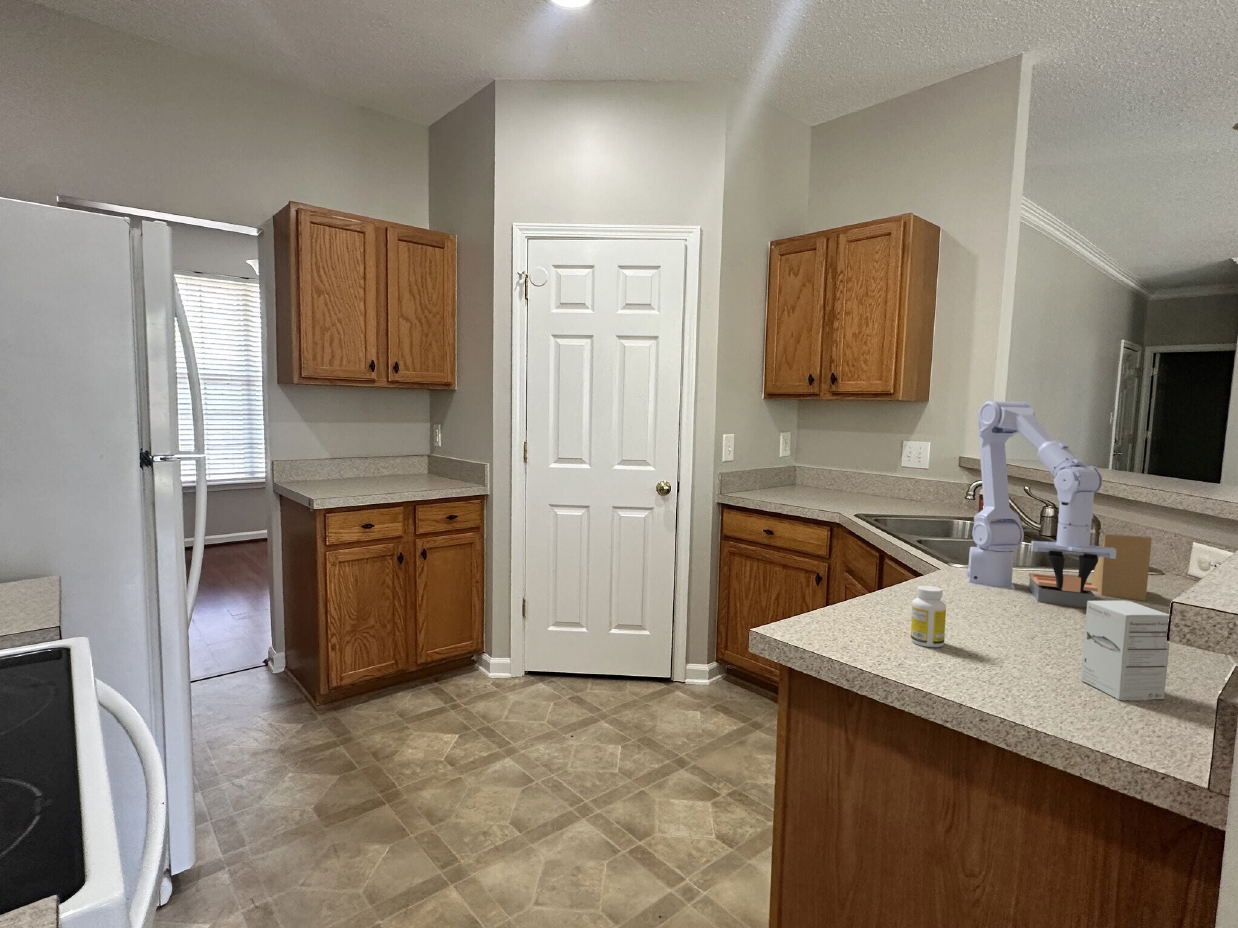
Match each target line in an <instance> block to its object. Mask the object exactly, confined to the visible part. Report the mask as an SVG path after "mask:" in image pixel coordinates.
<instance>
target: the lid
mask: <svg viewBox="0 0 1238 928" xmlns="http://www.w3.org/2000/svg"><path fill="white" fill-rule="evenodd" d="M1028 577H1029V579H1030V578H1031V579H1032V580H1033V581H1034V582H1036V583H1037V584H1038V585H1042V586H1051V587H1057V586H1056V577H1055V575H1053V574H1052V575H1051V574H1043V573H1040V574H1039V573H1032V572H1029V573H1028ZM1080 588H1081V577H1079V576H1078V574H1070V573H1069V574H1068V573H1063V585H1062V590H1063V591H1072V592H1080ZM1083 590H1087V591H1091V592H1097V593H1098V588H1097V587H1095V586H1094V585H1092V583H1090V581H1088V579H1087V580H1086V583H1085V585H1084V589H1083Z"/></svg>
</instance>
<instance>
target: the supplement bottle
mask: <svg viewBox="0 0 1238 928" xmlns="http://www.w3.org/2000/svg"><path fill="white" fill-rule="evenodd" d="M916 595H917V598H914V599H913V601H912V604H911V623H910V626H911V627H910V640H911V642H912V643H913V644H915V645H918V646H922V647H925V648H926V647H927V648H941V647H943V646H944V645H945V638H946V637H945V635H946V634H945V631H946V612H947V605H946V604H945V602H944V601H943V600H941V599H942V598H943V589H942V588H940V587H938V586H934V585H918V587H917V589H916Z"/></svg>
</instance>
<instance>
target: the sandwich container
mask: <svg viewBox="0 0 1238 928" xmlns="http://www.w3.org/2000/svg"><path fill="white" fill-rule="evenodd" d="M1152 541H1153V539H1152V537H1151V536H1142V535H1132V534H1118V533H1117V534H1116V533H1115V534H1114V533H1106V534H1105V535H1104V539H1103V542H1102V546H1101V547H1108V548H1115V549H1116V559H1111V558H1107V557H1097V559H1098V563H1097V565H1096V566H1095V567H1094V568H1093V572H1092V575H1091V578H1090V580H1089V583H1092V585H1094V586H1095V587H1097V588H1098V592H1097V593H1098V594H1100V596H1102V597H1111V598H1112V597H1113V598H1121V599H1130V600H1136V601H1146V600H1147V599H1146V598H1147V591H1148V590H1147V589H1148V579H1149V571H1150V570H1149V569H1150V561H1151V552H1152V551H1151V550H1152Z"/></svg>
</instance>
